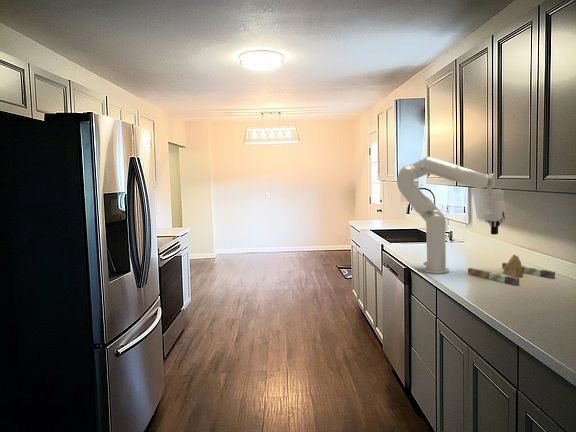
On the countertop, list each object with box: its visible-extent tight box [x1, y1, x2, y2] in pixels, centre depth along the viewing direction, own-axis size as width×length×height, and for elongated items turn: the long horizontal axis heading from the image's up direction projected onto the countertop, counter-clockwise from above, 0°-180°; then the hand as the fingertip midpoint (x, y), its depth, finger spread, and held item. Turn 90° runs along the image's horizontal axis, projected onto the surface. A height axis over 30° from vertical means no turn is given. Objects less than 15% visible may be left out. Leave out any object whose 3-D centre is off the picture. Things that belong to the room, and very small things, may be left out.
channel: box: [467, 262, 556, 287], centre depth 218 cm, size 28×26×3 cm
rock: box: [502, 254, 524, 278], centre depth 220 cm, size 11×9×10 cm
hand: (494, 234), depth 225 cm, fingers closed
